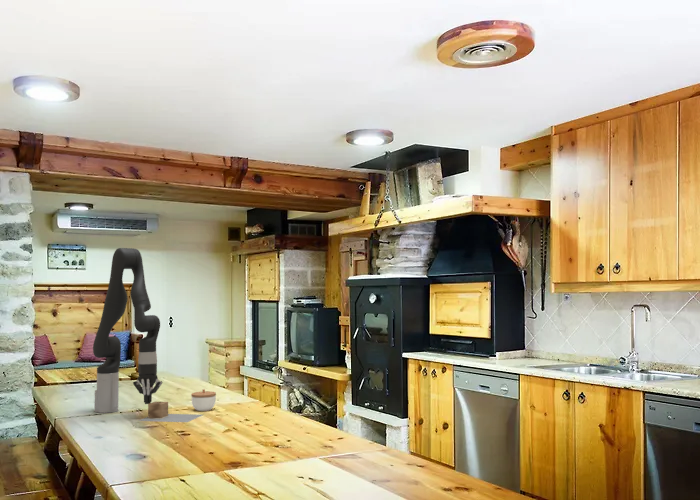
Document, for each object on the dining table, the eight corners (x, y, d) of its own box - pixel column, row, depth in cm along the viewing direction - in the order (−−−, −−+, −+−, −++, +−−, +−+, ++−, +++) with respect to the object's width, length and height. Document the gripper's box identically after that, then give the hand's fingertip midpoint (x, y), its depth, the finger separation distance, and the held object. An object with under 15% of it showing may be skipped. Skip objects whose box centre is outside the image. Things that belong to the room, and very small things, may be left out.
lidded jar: (218, 408, 297) (218, 387, 298) (211, 413, 287) (211, 391, 287) (195, 408, 298) (196, 387, 299) (187, 412, 288) (187, 391, 288)
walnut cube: (148, 418, 274) (148, 403, 274) (155, 415, 280) (155, 401, 280) (161, 418, 273) (161, 404, 273) (168, 416, 279) (168, 401, 279)
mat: (137, 421, 269) (137, 420, 269) (156, 414, 285) (156, 413, 285) (187, 423, 265) (187, 422, 265) (203, 415, 281) (203, 414, 281)
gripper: (128, 363, 276) (128, 405, 275) (157, 363, 274) (157, 405, 272) (137, 361, 284) (138, 402, 282) (166, 361, 281) (166, 402, 280)
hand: (147, 403), depth 277 cm, fingers closed
